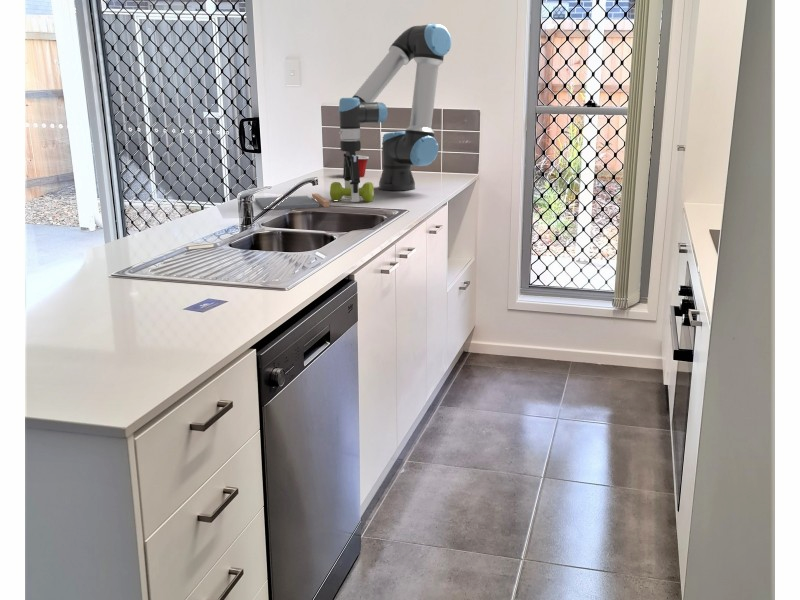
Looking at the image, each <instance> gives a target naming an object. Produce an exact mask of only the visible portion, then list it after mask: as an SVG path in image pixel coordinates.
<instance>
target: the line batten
mask: <svg viewBox="0 0 800 600" xmlns="http://www.w3.org/2000/svg"><path fill="white" fill-rule="evenodd" d="M311 197H313V198H314V199H316V200H317V201H318V202H319V203H320V204H321V206H322V207H323V208H330V200H328V199H327V198H325V197H324V196H322V195H321V194H319V193H314V192H313V193H311ZM313 198H312V199H313ZM314 199H313V200H314ZM318 202H317V203H318ZM319 203H318V204H319ZM320 204H319V205H320Z"/></svg>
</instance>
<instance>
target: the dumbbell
mask: <svg viewBox="0 0 800 600" xmlns="http://www.w3.org/2000/svg"><path fill="white" fill-rule="evenodd" d="M329 196H330V199H331V201H332V200H340V199H341V200H342V197H345V196H351V188H345V187H343V186H342V183H341V182H340V181H334V182H332V183H331V184H330V188H329ZM374 196H375V188H374V183H373V182H369V181H368V182H364V183H363V185H362V187H359V197H361V198H362V199H363V201H364V203H371V202H373V200H374ZM341 200H340V201H341Z"/></svg>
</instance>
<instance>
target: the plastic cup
mask: <svg viewBox="0 0 800 600" xmlns="http://www.w3.org/2000/svg"><path fill="white" fill-rule="evenodd" d="M356 156H358V165H359V176H360V178H364V177H365V175H366V171H367V170H366V169H367V164H368V160H369V158H370V157H369V156H367V155H360V154H358V155H357V154H356Z"/></svg>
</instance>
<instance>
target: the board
mask: <svg viewBox="0 0 800 600" xmlns="http://www.w3.org/2000/svg"><path fill="white" fill-rule="evenodd" d="M278 197H279V196H272V197H271V196H270V197H255V198H254V199H255V200H254V201H255V203H256V204H257V205H258V206H259V207H260V208H261V210H263V209H264V208H266V207H267V206H269V205H270V204H271V203H272V202H274V201H275V200H276V199H277V198H278ZM287 197H288V198H287V199H285V200H284V201H283V202H281V203H280V204H279V205H277V206H276V207H275V208H274V209H273V210H288V209H289V210H290V209H291V210H292V209H293V210H294V209H310V208H311V209H312V208H319V206H320V204H319V203H318V202H316V201H315V200H314V199H313V198H310V197H309V196H308V195H298V196H297V195H294V196H287Z"/></svg>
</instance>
